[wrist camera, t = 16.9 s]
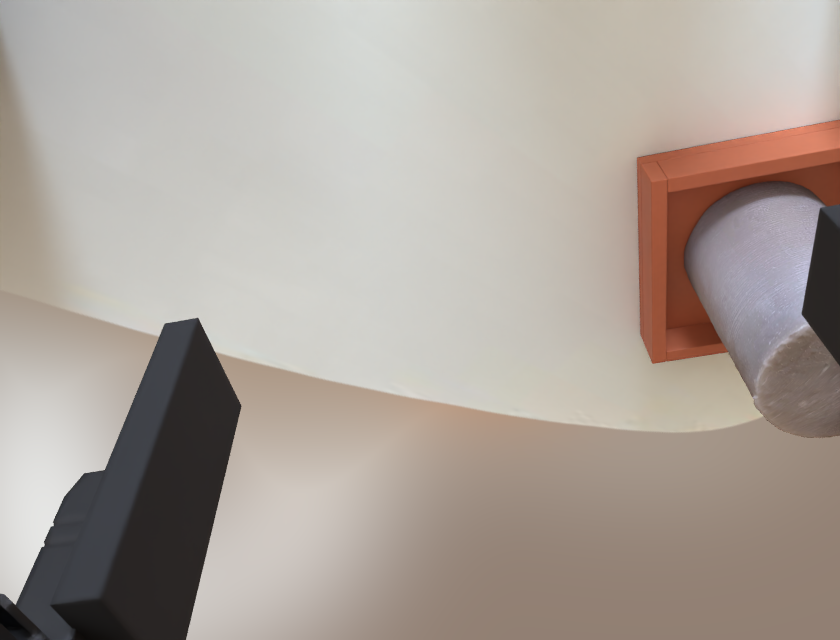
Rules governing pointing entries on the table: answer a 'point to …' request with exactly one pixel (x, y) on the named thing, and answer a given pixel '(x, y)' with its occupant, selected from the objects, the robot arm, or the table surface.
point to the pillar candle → (767, 301)
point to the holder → (688, 200)
